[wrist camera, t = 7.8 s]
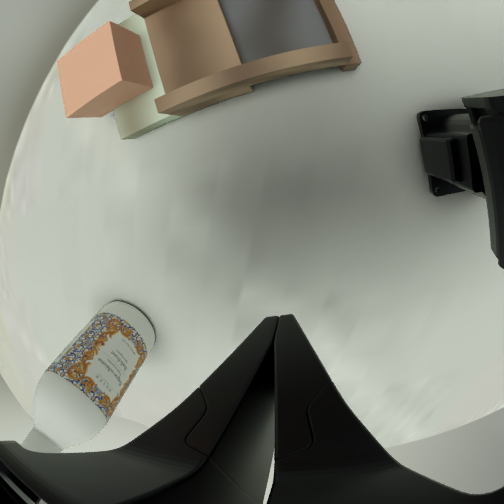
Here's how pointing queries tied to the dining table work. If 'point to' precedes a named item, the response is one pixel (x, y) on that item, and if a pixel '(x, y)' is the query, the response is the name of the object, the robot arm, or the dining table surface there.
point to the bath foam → (89, 378)
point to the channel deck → (226, 52)
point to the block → (103, 72)
